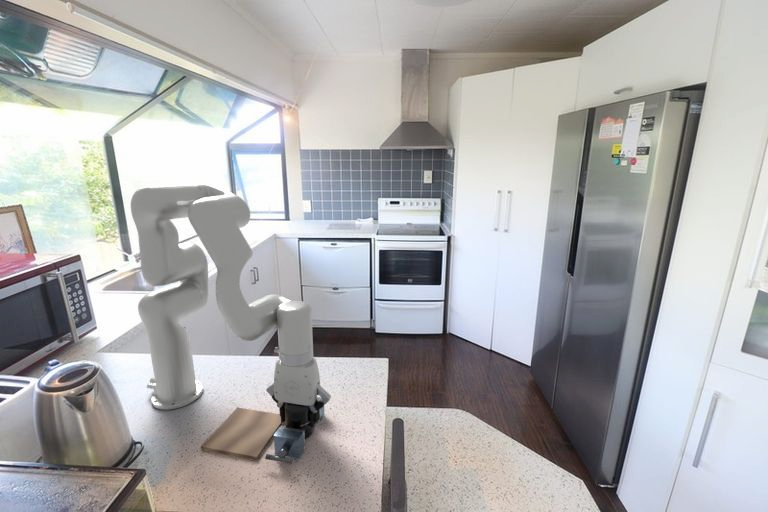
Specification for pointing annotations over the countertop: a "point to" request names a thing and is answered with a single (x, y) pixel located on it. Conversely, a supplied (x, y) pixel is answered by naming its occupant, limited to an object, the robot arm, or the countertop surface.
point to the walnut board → (244, 434)
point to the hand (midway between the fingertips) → (299, 420)
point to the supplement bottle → (298, 418)
